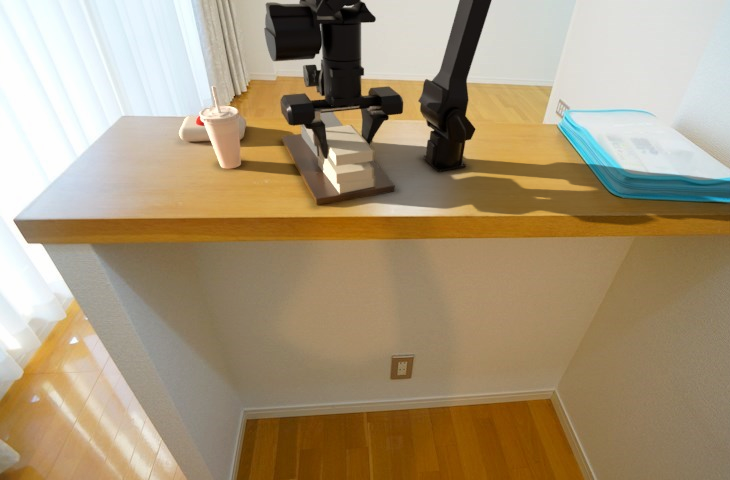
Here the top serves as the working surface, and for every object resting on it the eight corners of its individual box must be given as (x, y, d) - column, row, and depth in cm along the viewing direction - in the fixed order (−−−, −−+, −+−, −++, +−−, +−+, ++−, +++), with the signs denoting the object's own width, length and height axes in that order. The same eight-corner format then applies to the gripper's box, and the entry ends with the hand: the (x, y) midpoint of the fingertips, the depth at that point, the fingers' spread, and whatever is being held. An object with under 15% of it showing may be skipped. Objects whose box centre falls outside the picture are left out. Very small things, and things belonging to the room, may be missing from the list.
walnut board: (346, 133, 90) (346, 128, 90) (394, 191, 73) (394, 185, 72) (282, 141, 86) (281, 136, 85) (316, 205, 68) (316, 199, 67)
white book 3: (350, 159, 79) (350, 150, 77) (375, 186, 71) (375, 177, 70) (318, 165, 76) (317, 156, 75) (339, 193, 69) (339, 184, 68)
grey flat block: (331, 121, 86) (330, 108, 84) (346, 142, 78) (346, 129, 76) (302, 123, 84) (300, 111, 82) (315, 146, 76) (314, 132, 74)
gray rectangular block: (329, 133, 87) (329, 121, 86) (348, 155, 80) (348, 142, 78) (301, 136, 85) (300, 124, 83) (318, 159, 78) (317, 146, 76)
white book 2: (353, 150, 77) (352, 141, 76) (373, 178, 70) (374, 168, 69) (319, 155, 75) (318, 145, 74) (336, 184, 68) (336, 174, 66)
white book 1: (351, 134, 75) (351, 124, 74) (374, 160, 68) (374, 150, 67) (316, 138, 73) (316, 128, 72) (336, 166, 66) (335, 155, 64)
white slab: (244, 103, 89) (240, 121, 81) (248, 123, 92) (244, 142, 84) (183, 104, 87) (173, 122, 79) (189, 124, 89) (180, 144, 82)
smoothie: (213, 174, 74) (192, 93, 65) (211, 158, 78) (191, 80, 69) (250, 169, 76) (235, 90, 67) (246, 154, 80) (232, 78, 71)
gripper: (379, 41, 70) (377, 131, 80) (266, 45, 63) (279, 142, 73) (407, 58, 62) (401, 155, 72) (282, 66, 56) (295, 171, 66)
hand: (344, 155), depth 71 cm, fingers closed on white book 1, 6 cm apart
